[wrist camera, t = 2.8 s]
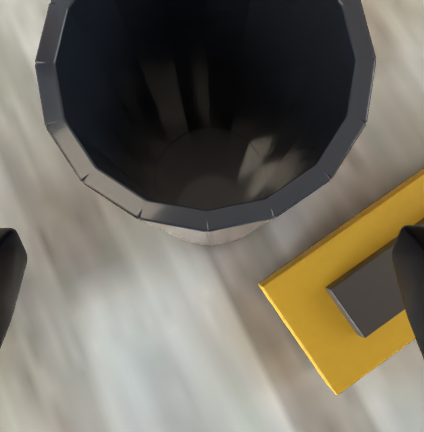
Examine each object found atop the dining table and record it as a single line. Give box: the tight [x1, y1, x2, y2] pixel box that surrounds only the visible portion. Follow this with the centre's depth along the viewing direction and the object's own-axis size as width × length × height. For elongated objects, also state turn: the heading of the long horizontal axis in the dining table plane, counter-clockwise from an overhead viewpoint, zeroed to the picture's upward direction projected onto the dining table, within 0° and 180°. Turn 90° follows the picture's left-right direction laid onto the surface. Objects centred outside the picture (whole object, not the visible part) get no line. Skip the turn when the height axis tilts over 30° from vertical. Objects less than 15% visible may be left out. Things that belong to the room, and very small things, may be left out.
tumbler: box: [35, 0, 376, 246], centre depth 13 cm, size 6×6×12 cm
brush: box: [258, 168, 424, 395], centre depth 17 cm, size 12×6×4 cm, turn 124°
